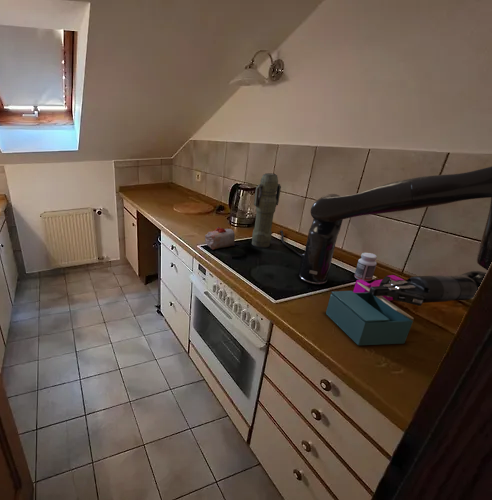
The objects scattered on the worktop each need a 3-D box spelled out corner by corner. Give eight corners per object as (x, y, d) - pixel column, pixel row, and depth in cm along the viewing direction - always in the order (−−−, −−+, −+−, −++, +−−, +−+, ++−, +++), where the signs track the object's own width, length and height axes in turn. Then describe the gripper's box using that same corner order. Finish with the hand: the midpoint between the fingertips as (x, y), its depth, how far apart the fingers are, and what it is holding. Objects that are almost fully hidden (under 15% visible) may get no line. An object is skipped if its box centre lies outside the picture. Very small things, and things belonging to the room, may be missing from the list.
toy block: (380, 290, 108) (386, 271, 105) (397, 299, 102) (404, 279, 99) (345, 295, 105) (350, 276, 102) (360, 305, 100) (366, 285, 97)
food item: (211, 251, 145) (213, 232, 141) (203, 245, 151) (204, 227, 148) (235, 247, 149) (237, 228, 145) (226, 241, 155) (227, 223, 152)
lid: (356, 282, 92) (357, 281, 91) (371, 290, 93) (372, 289, 93) (396, 310, 78) (397, 309, 78) (413, 319, 79) (414, 318, 79)
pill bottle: (371, 276, 117) (378, 253, 113) (372, 283, 113) (379, 259, 109) (353, 273, 120) (359, 251, 116) (354, 279, 115) (360, 256, 111)
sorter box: (325, 313, 96) (331, 291, 93) (365, 312, 96) (372, 289, 93) (358, 345, 82) (366, 320, 79) (404, 343, 82) (414, 318, 79)
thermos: (245, 242, 153) (253, 173, 140) (264, 239, 156) (274, 171, 143) (255, 249, 146) (265, 176, 132) (276, 245, 148) (287, 174, 135)
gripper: (415, 266, 89) (358, 269, 89) (460, 289, 77) (394, 292, 77) (407, 288, 92) (352, 290, 92) (449, 313, 80) (386, 316, 80)
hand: (371, 291), depth 84 cm, fingers closed
